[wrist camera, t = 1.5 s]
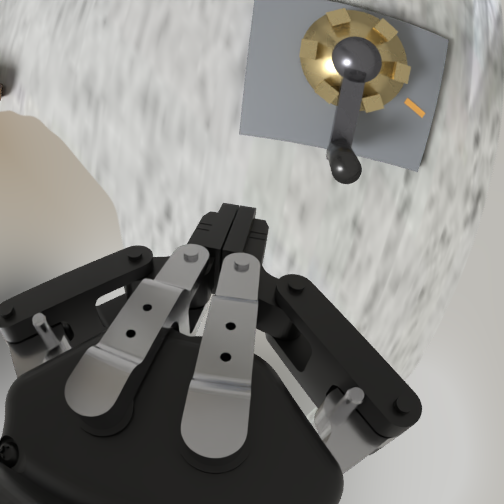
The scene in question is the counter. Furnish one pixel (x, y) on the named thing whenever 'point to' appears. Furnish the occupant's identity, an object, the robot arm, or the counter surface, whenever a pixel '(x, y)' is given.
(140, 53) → the counter surface
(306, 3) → the base plate
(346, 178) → the lever with gold dial
